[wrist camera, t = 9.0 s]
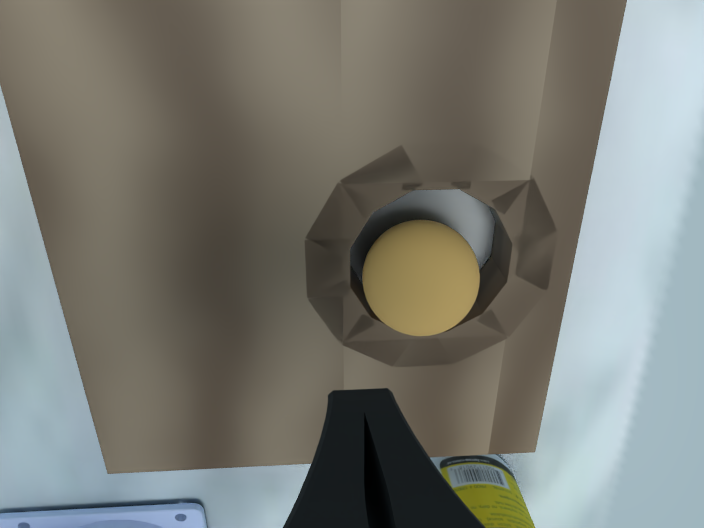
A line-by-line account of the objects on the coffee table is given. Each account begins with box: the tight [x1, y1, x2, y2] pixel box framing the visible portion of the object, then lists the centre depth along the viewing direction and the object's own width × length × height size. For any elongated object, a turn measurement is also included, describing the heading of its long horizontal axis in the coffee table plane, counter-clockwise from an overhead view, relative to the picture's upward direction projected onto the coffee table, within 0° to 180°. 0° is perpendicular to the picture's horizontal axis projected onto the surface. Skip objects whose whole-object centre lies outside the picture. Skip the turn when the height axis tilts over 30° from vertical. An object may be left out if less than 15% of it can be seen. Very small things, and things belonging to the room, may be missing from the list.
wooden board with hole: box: [0, 0, 627, 474], centre depth 20 cm, size 18×18×2 cm
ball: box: [362, 220, 480, 336], centre depth 20 cm, size 4×4×4 cm
